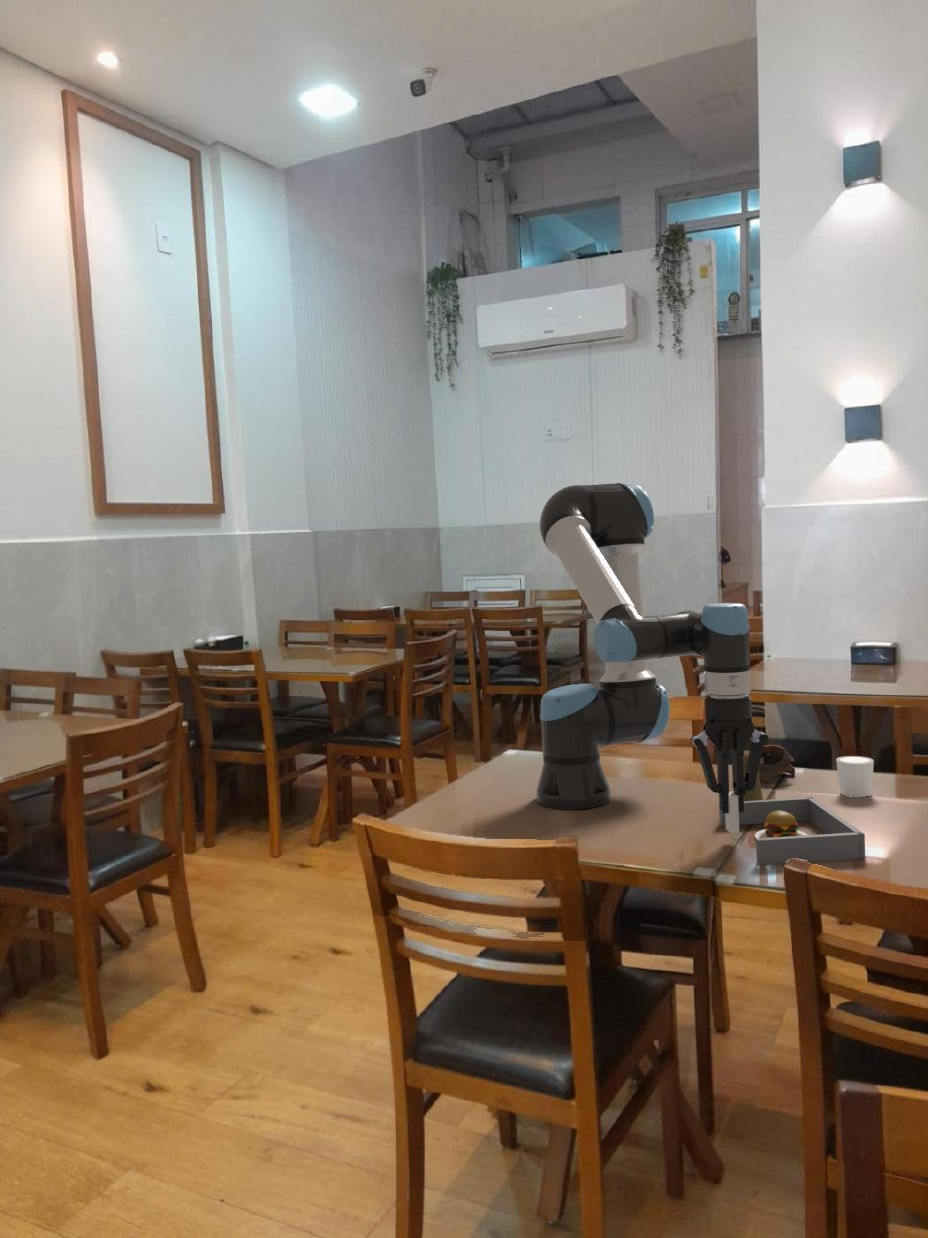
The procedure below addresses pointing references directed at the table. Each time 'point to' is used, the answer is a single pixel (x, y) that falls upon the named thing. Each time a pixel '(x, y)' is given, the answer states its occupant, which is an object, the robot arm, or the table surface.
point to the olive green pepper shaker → (756, 792)
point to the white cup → (855, 775)
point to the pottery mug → (775, 762)
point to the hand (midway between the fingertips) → (732, 830)
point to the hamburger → (780, 825)
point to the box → (831, 846)
